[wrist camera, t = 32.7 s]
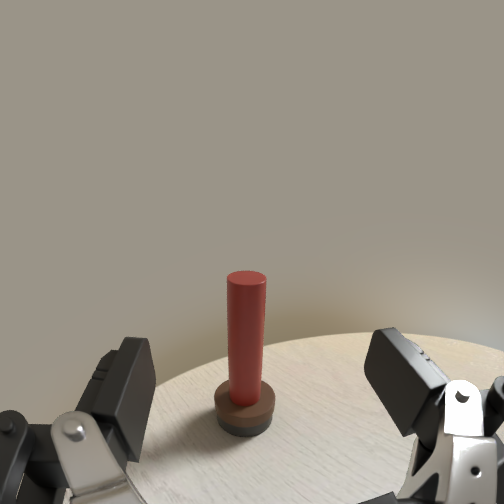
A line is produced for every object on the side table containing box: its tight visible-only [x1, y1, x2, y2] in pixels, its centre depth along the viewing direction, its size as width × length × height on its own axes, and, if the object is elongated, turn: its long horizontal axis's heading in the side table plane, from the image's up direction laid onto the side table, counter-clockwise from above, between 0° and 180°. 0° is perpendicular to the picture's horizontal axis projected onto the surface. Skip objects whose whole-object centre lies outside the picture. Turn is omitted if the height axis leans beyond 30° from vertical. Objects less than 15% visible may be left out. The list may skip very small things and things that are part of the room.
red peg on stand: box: [214, 271, 275, 437], centre depth 20 cm, size 5×5×14 cm
